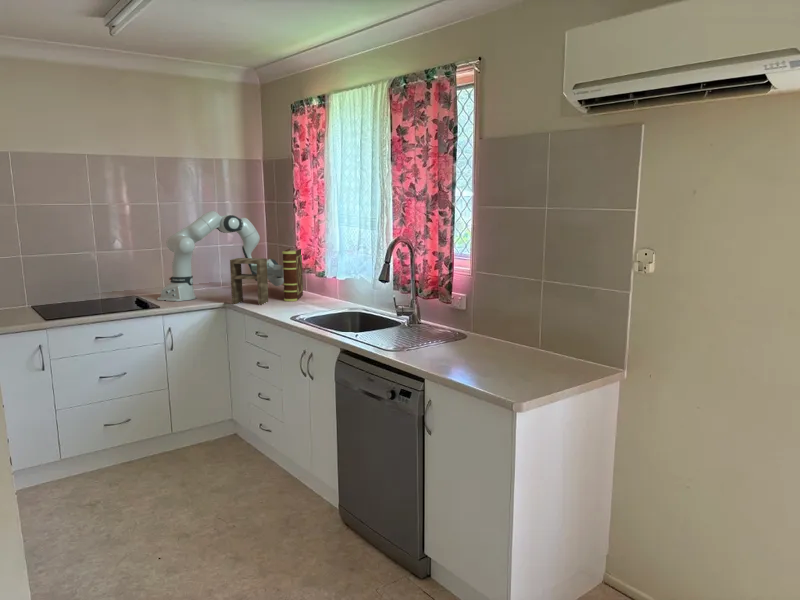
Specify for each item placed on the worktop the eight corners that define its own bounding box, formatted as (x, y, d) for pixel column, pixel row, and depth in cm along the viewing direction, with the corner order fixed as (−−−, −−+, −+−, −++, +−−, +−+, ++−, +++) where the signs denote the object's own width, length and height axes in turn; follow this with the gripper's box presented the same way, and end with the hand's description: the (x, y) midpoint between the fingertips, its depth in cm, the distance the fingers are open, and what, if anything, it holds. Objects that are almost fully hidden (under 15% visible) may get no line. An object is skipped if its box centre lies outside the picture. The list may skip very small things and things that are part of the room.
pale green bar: (251, 270, 355) (251, 265, 354) (263, 266, 373) (262, 261, 373) (257, 270, 354) (257, 265, 354) (269, 266, 373) (269, 262, 372)
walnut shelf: (232, 304, 345) (229, 259, 341) (239, 301, 356) (237, 258, 352) (261, 305, 343) (259, 260, 338) (268, 301, 354) (266, 258, 349)
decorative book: (296, 301, 355) (294, 251, 349) (283, 301, 355) (281, 251, 350) (303, 295, 377) (301, 248, 372) (290, 295, 377) (289, 248, 372)
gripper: (256, 267, 385) (249, 259, 372) (287, 268, 382) (280, 259, 369) (255, 276, 383) (247, 268, 370) (285, 277, 380) (278, 269, 367)
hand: (264, 264), depth 370 cm, fingers closed on pale green bar, 4 cm apart
